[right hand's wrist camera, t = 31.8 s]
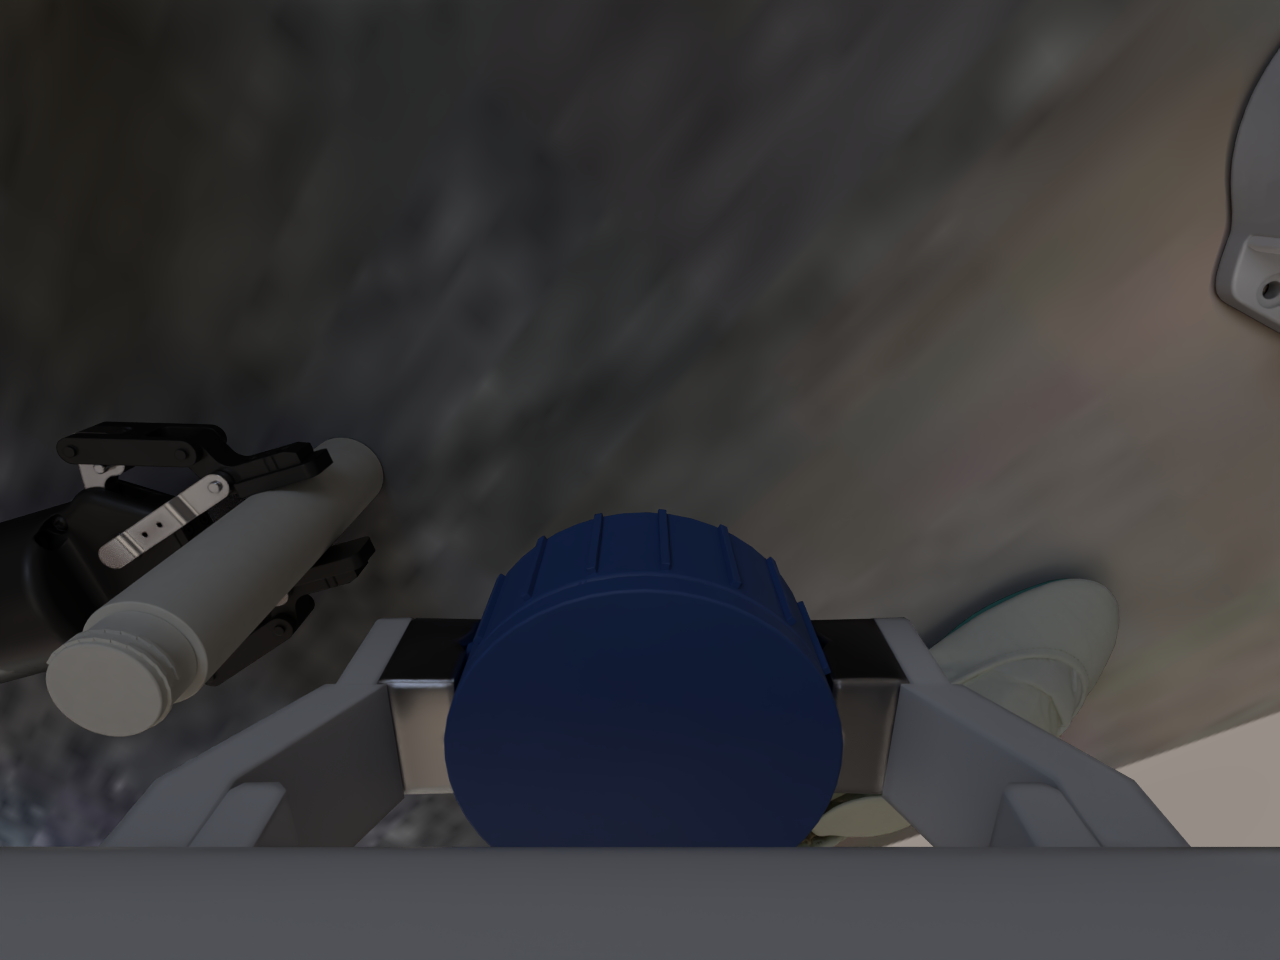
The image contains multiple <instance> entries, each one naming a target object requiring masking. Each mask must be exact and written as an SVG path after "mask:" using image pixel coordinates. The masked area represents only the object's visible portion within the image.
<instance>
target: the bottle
mask: <svg viewBox="0 0 1280 960" xmlns="http://www.w3.org/2000/svg"><path fill="white" fill-rule="evenodd" d="M324 448H327V450H328V452H329V454H330V456H331V458H332V460H333V463H332V464H331V465H330V466H329V467H328V468H326V469H325V470H324V471H323V472H322V473H320V474H319V475H317V476H315V477H313V478H310V479H307V480H304V481H300V482H297V483H293V484H290V485H286V486H283V487H280V488H276V489H273V490H269V491H266V492H262V493H258V494H255V495H252V496H250V497H248V498H247V499H246V500H244V501H243V502H242V503H240V504H239V505H238V506H236V507H235V508H234V509H232V510H231V511H230V512H228V513H227V514H226V515H224V516H223V517H222V518H220V519H219V520H218V521H216V522H215V523H214V524H212V525H211V526H210V527H208V528H207V529H205V530H204V531H203V532H201V533H200V534H199V535H197V536H196V537H195V538H193V539H192V540H191V541H189V542H188V543H187V544H185V545H184V546H183V547H181V548H180V549H179V550H177V551H176V552H175V553H173V554H172V555H171V556H169V557H168V558H167V559H165V560H164V561H162V562H161V563H160V564H158V565H157V566H156V567H154V568H153V569H152V570H150V571H149V572H148V573H146V574H145V575H144V576H142V577H141V578H140V579H138V580H137V581H136V582H134V583H133V584H132V585H130V586H129V587H128V588H126V589H125V590H123V591H122V592H121V593H119V594H118V595H117V596H115V597H114V598H113V599H111V600H110V601H109V602H107V603H106V604H105V605H103V606H102V607H101V608H99V609H98V610H97V611H95V612H94V613H93V614H92V615H91V616H90V618H89V619H88V620H87V622H86V624H85V626H84V629H83V632H80V633H78V634H76V635H75V636H74V637H72V638H71V639H70V640H68V641H67V642H66V643H64V644H63V645H62V646H61V647H59V648H58V649H57V650H55V651H54V652H53V653H52V654H51V656H50V657H49V659H48V661H47V664H49V666H48V669H47V672H46V684H47V688H48V692H49V694H50V696H51V698H52V700H53V702H54V703H55V704H56V706H57V707H58V708H59V709H60V710H61V712H62V713H63V714H65V715H66V716H67V717H68V718H69V719H71V720H72V721H73V722H75V723H76V724H78V725H80V726H81V727H84V728H86V729H88V730H90V731H93V732H96V733H99V734H103V735H108V736H130V735H134V734H138V733H140V732H143V731H145V730H147V729H148V728H150V727H154V726H155V725H157V724H158V723H159V722H161V721H162V720H163V719H164V718H165V717H166V716H167V714H168V713H169V712H170V710H171V709H172V705H173V703H177V702H180V701H183V700H185V699H188V698H189V697H191V696H193V695H194V694H195V693H196V692H198V691H199V690H200V688H201V687H202V686H203V685H204V684H205V683H206V682H207V681H208V680H209V679H210V677H211V676H212V675H213V674H214V673H215V672H216V671H217V670H218V669H219V668H220V667H221V665H222V664H223V663H224V662H225V661H226V660H227V659H228V658H229V657H230V656H231V654H232V653H233V652H234V651H235V650H236V649H237V648H238V647H239V646H240V645H241V644H242V642H243V641H244V640H245V639H246V638H247V637H248V636H249V635H250V634H251V633H252V631H253V630H254V629H255V628H256V627H257V626H258V625H259V624H260V623H261V622H262V621H263V619H264V618H265V617H266V616H267V615H268V614H269V613H270V612H271V611H272V610H273V608H274V607H275V606H276V605H277V604H278V603H279V602H280V601H281V600H282V599H283V598H284V596H285V595H286V594H287V593H288V592H289V591H290V590H291V589H292V588H293V587H294V586H295V584H296V583H297V582H298V581H299V580H300V579H301V578H302V577H303V576H304V575H305V573H306V572H307V571H308V570H309V569H310V568H311V567H312V566H313V565H314V564H315V563H316V561H317V560H318V559H319V558H320V557H321V556H322V555H323V554H324V553H325V552H326V550H327V549H328V548H329V547H330V546H331V545H332V544H333V543H334V542H335V541H336V540H337V538H338V537H339V536H340V535H341V534H342V533H343V532H344V531H345V530H346V529H347V527H348V526H349V525H350V524H351V523H352V522H353V521H354V520H355V519H356V518H357V517H358V515H359V514H360V513H361V512H362V511H363V510H364V509H365V508H366V507H367V506H368V505H369V503H370V502H371V501H372V500H373V499H374V498H375V497H376V496H377V495H378V493H379V492H380V490H381V487H382V484H383V470H382V466H381V464H380V462H379V460H378V458H377V456H376V455H375V454H374V453H373V452H372V451H371V450H370V449H369V448H368V447H367V446H365V445H364V444H362V443H360V442H358V441H356V440H353V439H349V438H332V439H329V440H327V441H324V442H323V443H321V444H320V445H318V446H317V447H316V448H314V449H313V450H314V451H317V450H320V449H324Z"/></svg>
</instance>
